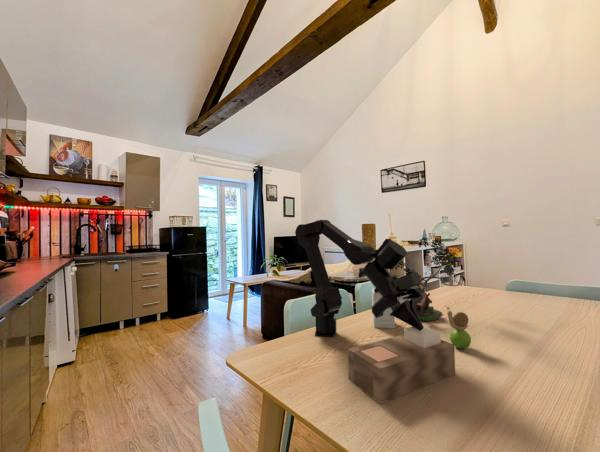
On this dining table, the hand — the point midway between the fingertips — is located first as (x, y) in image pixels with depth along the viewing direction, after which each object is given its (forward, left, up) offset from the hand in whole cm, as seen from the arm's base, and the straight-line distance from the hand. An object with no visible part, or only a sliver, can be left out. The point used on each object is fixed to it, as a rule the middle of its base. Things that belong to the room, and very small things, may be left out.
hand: (421, 329), depth 69 cm
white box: (0, 0, -7) cm, 7 cm away
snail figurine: (+13, +15, -10) cm, 22 cm away
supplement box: (-7, +32, -10) cm, 34 cm away
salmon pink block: (-11, -9, -10) cm, 17 cm away
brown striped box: (-6, -4, -10) cm, 12 cm away
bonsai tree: (+13, +47, -10) cm, 50 cm away
